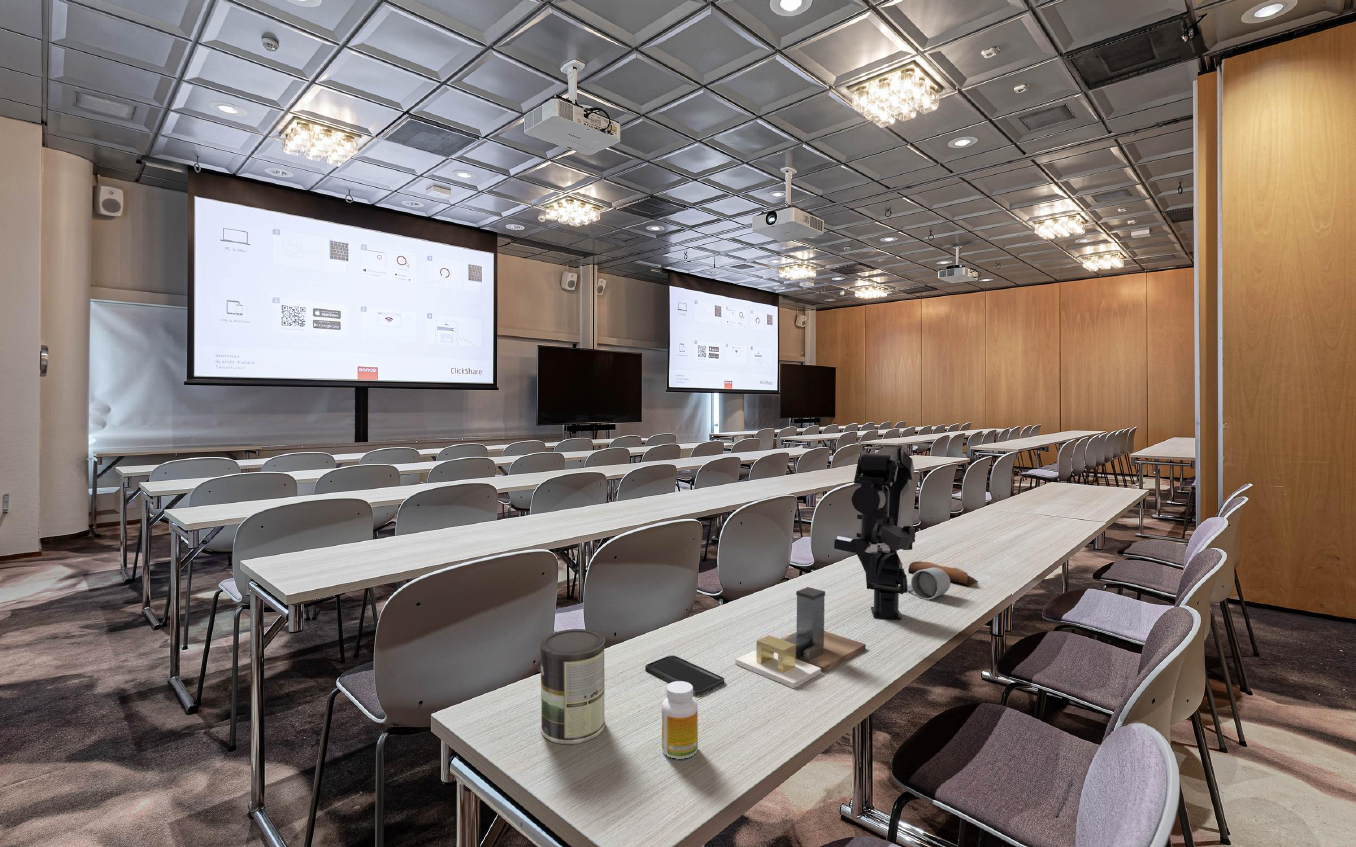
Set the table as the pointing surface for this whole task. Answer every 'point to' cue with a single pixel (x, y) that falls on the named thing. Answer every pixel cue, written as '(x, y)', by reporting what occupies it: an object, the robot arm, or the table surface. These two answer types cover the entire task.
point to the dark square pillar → (809, 619)
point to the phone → (685, 674)
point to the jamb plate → (770, 670)
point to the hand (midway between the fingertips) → (872, 582)
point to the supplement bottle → (679, 721)
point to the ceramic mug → (929, 583)
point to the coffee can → (572, 686)
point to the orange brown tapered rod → (953, 573)
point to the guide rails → (811, 650)
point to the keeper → (779, 646)
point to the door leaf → (833, 651)
